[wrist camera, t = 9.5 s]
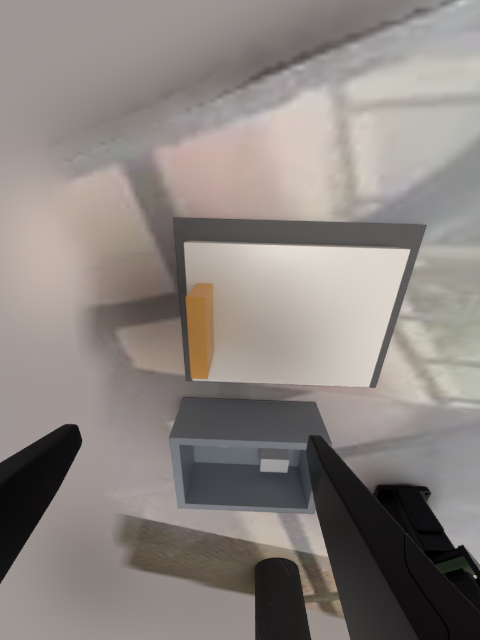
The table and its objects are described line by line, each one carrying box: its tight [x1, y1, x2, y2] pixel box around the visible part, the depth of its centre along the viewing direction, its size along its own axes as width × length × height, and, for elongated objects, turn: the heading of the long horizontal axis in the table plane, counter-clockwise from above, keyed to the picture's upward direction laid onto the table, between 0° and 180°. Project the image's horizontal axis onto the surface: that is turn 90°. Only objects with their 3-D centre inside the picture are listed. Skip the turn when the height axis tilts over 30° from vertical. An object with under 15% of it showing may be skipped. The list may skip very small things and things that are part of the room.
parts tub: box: [169, 397, 332, 514], centre depth 24 cm, size 10×14×5 cm
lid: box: [184, 241, 411, 387], centre depth 17 cm, size 12×16×6 cm
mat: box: [173, 218, 427, 388], centre depth 20 cm, size 15×19×1 cm
